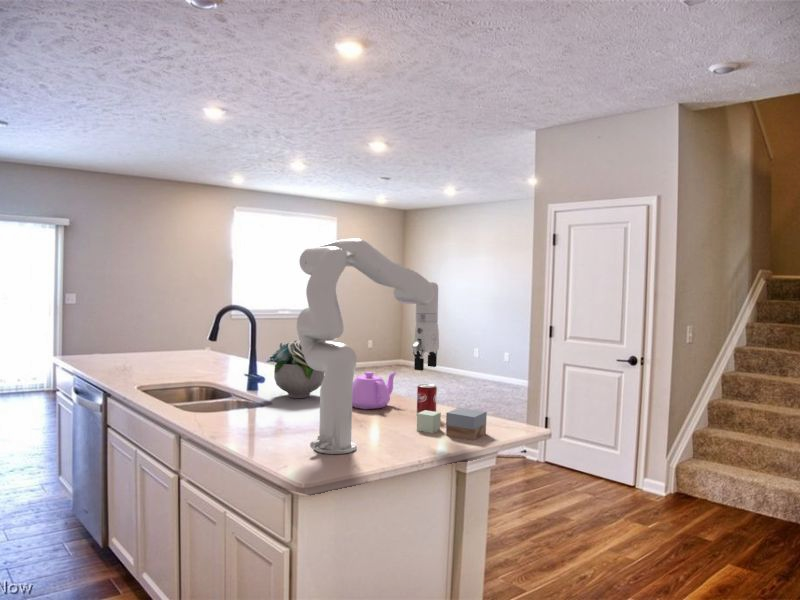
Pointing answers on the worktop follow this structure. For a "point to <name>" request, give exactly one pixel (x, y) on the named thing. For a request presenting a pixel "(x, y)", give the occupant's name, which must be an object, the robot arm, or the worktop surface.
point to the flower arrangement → (295, 371)
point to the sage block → (428, 421)
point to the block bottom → (465, 432)
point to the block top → (466, 418)
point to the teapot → (371, 391)
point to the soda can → (426, 397)
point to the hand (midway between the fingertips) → (425, 368)
